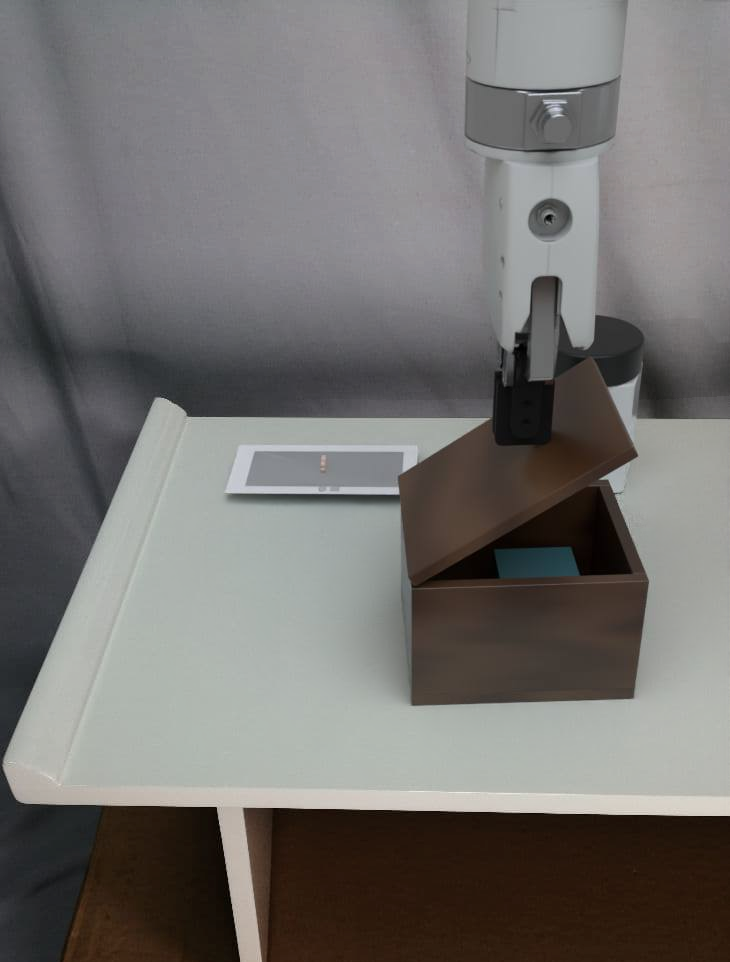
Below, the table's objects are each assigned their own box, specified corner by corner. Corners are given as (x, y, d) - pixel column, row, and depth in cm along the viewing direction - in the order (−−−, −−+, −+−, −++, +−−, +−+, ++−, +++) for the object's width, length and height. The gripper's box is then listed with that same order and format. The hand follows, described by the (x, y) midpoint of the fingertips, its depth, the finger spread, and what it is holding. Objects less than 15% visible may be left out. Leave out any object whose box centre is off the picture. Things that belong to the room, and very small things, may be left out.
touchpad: (240, 456, 99) (238, 433, 98) (417, 457, 98) (417, 434, 97) (226, 504, 93) (223, 481, 92) (415, 506, 92) (415, 482, 90)
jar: (611, 442, 99) (625, 307, 92) (650, 491, 92) (668, 349, 85) (508, 455, 98) (515, 319, 91) (540, 504, 91) (549, 362, 84)
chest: (597, 588, 82) (608, 478, 77) (633, 698, 72) (649, 580, 67) (401, 594, 82) (400, 486, 77) (411, 705, 72) (411, 589, 67)
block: (565, 608, 78) (571, 546, 76) (579, 655, 74) (585, 591, 71) (490, 611, 79) (493, 548, 76) (499, 658, 74) (503, 594, 72)
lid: (597, 364, 72) (590, 355, 72) (639, 456, 63) (632, 446, 62) (403, 484, 77) (396, 475, 77) (415, 587, 67) (407, 578, 67)
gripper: (650, 150, 52) (611, 503, 62) (587, 77, 65) (563, 381, 75) (481, 157, 52) (469, 507, 62) (451, 83, 65) (445, 385, 75)
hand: (520, 438), depth 69 cm, fingers closed
